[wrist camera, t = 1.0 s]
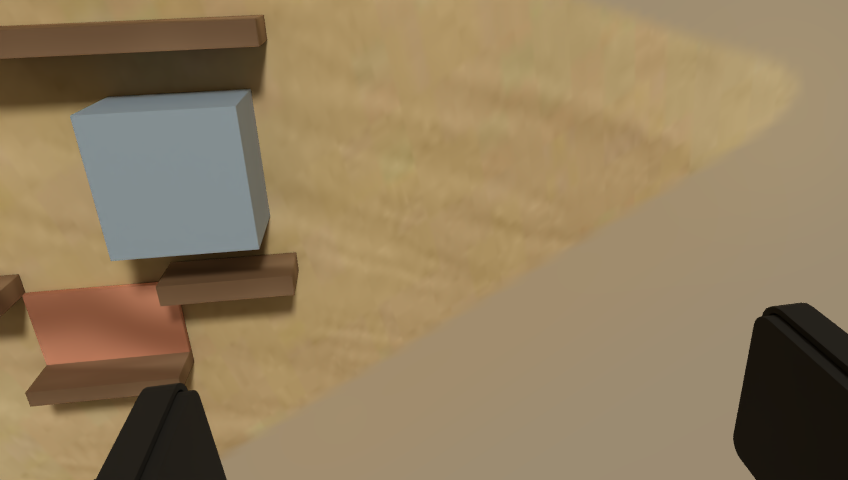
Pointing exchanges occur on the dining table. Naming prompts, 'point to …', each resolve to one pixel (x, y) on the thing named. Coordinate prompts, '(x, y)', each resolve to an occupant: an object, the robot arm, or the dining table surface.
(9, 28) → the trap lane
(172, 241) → the slate block
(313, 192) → the dining table surface
